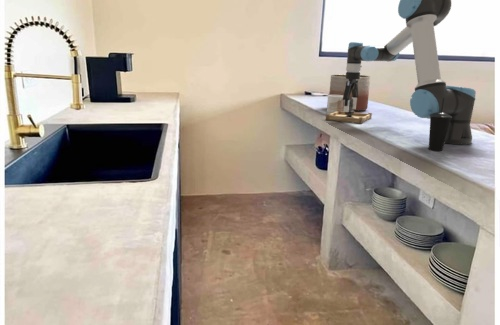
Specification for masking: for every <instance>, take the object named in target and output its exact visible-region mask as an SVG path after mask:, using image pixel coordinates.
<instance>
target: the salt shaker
mask: <svg viewBox="0 0 500 325" xmlns="http://www.w3.org/2000/svg"><path fill="white" fill-rule="evenodd" d="M349 100H350V101H349V112H345V115H347V116H345V117H352V115H354V113H356V112H355V111H353V98H351V97H350V98H349ZM352 118H354V117H352Z"/></svg>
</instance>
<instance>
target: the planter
mask: <svg viewBox="0 0 500 325" xmlns="http://www.w3.org/2000/svg"><path fill="white" fill-rule="evenodd" d="M356 80H358V96H359V97H358V98H357V101H356V109H353V111H355V112H354V113H360V112H363V111H365V110H367V109H368V105H369V95H370V93H369V92H370V84H371V83H370V82H371V76H370V75H365V74H363V75H361V74H360V79H356ZM329 81H330V83H329V85H330V86H329V92H328V95H343V96H344V91H345V87H346V81H349V79H346V74H331V75H330V80H329ZM350 97H351V98H352V92H351V95H350ZM343 109H344V105H343Z"/></svg>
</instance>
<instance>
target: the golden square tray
mask: <svg viewBox="0 0 500 325" xmlns="http://www.w3.org/2000/svg"><path fill="white" fill-rule="evenodd" d="M372 115H373V113H372V112H368V113H364V112H362V113H361V112H354V115H352V117H354V118H352V117H345V116H347V115H345V112H343V111H341V110H337V111H336V112H334V113H331V114H328V113H326V114H325V120H326V121H330V122H331V121H332V122H343V123H350V124H360V125H361V124H365V122H367V121H369V120H371V119H372Z"/></svg>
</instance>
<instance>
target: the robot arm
mask: <svg viewBox="0 0 500 325" xmlns="http://www.w3.org/2000/svg"><path fill="white" fill-rule="evenodd" d="M451 8H452V0H400V1H399V3H398V8H397V12H398V15H399V17H401V19H405V25H406V27H404V28H403V29H402V30H401V31H400V32H399V33H398V34H396V36H394V37H393V38H392V39H391V40H389V41H388V43H386V44H384V45H383V46H382V45H364V43H363V42H362V41H361V42H360V41H351V42H349V43H348V49H347V58H346V68H345V70H346V72H345V75H346V79H349V81H346V87H345V91H344V96H343V100H344V109H343V112H349V101H350V100H349V98H350V95H351V92H352V98H353V109H356V101H357V98H358V97H359V96H358V80H356V79H360V75H361V68H362V62H393V61H397V60H398V58H399V57H400V53H401V52H402V51H403V50H404V49H405V48H407V47H408V46H409V45H410V44H412V48H413V56H414V64H415V70H416V80H417V85H416V86H415V87H414V92H412V93H411V96H410V97H411V98H410V100H409V106H410V108H411V111H412V113H413V114H414V115H415V116H416V117H418V118H421V119H428V120H430V114H433V113H436V112H441V106H442V100H443V98H444V99H445V100H444V106H443V112H445V113H448V114H449V115H451V116H452V118H451V120H450V124H449V128H448V131H447V135H446V139H445V142H444V144H449V145H450V144H452V145H469V144H470V145H471V144H472V141H473V134H472V133H473V132H472V128H471V121H472V117H473V112H474V107H475V106H474V105H475V103H476V102H475V101H476V94H477V92H476V89H474V88H471V87H463V86H456V85H447V84H446V83H447V82H446V81H444V80H443V79H442V78H441V69H440V64H439V56H438V55H439V54H438V49H437V48H438V47H437V41H436V33H435V27H436V26H438V25H439V24H440V23H441V22H443V21H444V20H445V19H446V17H447V16H448V15H449V13H450V11H451Z"/></svg>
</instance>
